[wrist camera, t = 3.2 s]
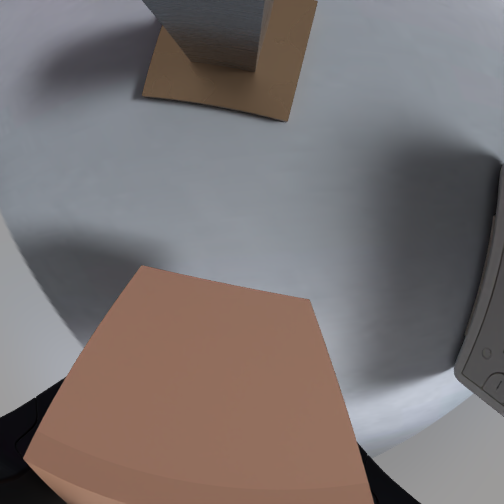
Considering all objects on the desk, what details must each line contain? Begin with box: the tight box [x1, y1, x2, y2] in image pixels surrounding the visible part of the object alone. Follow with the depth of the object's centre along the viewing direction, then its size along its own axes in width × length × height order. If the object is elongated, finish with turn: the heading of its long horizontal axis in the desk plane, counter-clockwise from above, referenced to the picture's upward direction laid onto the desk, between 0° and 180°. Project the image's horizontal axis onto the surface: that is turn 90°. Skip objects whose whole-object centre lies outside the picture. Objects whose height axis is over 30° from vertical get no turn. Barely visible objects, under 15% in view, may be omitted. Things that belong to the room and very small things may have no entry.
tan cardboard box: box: [23, 265, 374, 504], centre depth 6 cm, size 5×5×7 cm
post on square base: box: [142, 0, 318, 122], centre depth 6 cm, size 6×6×7 cm
